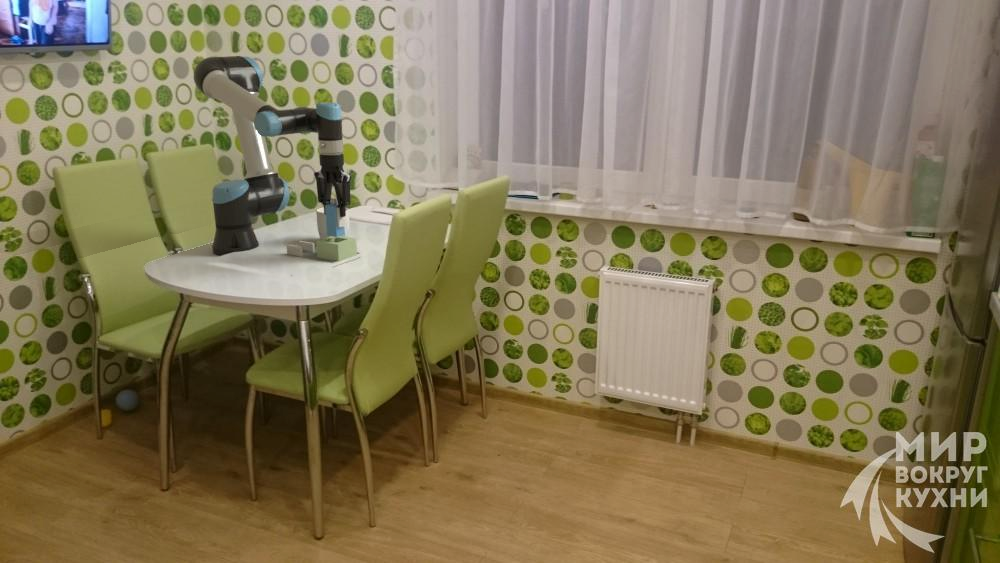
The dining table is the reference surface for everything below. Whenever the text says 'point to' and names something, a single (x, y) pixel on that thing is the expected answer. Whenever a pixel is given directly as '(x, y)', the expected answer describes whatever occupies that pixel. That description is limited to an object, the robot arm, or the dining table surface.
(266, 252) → the dining table surface
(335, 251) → the port
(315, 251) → the panel
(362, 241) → the dining table surface
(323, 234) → the mug
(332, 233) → the plug
